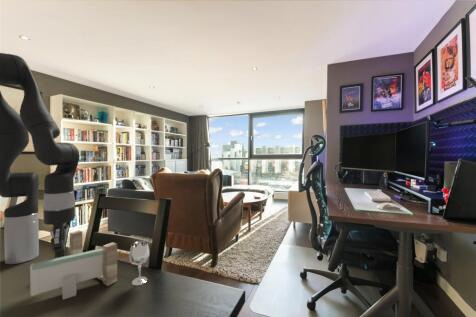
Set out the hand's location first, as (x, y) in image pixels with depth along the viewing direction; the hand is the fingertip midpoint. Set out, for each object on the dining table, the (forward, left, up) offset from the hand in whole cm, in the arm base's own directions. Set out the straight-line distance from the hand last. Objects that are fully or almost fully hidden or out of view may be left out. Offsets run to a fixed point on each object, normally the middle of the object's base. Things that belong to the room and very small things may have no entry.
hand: (60, 261), depth 67 cm
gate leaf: (+7, 0, -5) cm, 9 cm away
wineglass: (+21, +13, -7) cm, 26 cm away
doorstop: (+9, -1, -7) cm, 12 cm away
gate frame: (+3, +8, -7) cm, 11 cm away
